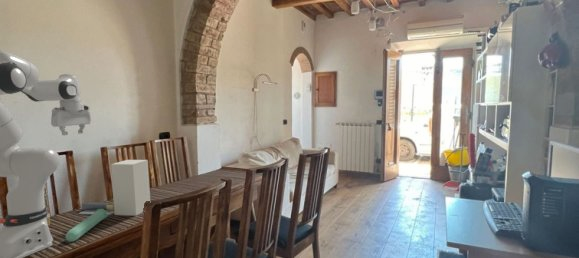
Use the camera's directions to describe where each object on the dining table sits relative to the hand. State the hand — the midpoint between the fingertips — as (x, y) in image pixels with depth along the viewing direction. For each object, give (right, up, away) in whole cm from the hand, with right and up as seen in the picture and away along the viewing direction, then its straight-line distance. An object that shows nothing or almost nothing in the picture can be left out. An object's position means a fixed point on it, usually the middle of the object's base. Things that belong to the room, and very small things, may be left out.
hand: (73, 134), depth 153 cm
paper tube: (-4, -43, -15) cm, 45 cm away
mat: (+12, -40, +6) cm, 43 cm away
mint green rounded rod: (+21, -43, -20) cm, 51 cm away
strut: (+11, -40, +6) cm, 42 cm away
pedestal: (+29, -40, +3) cm, 50 cm away
